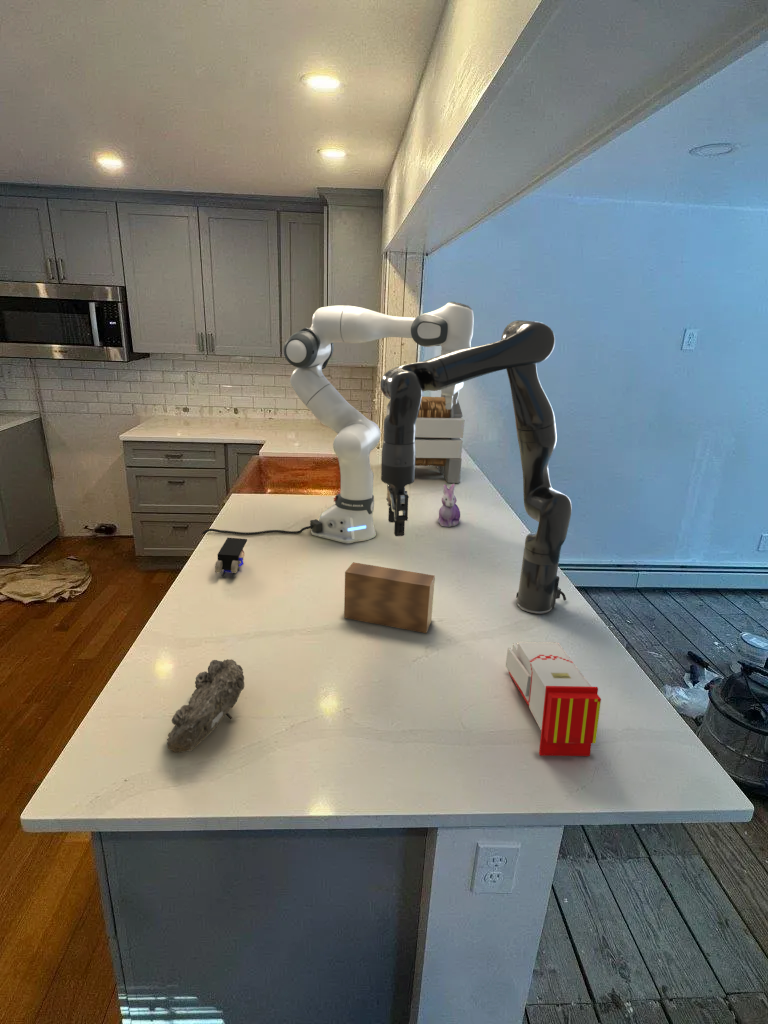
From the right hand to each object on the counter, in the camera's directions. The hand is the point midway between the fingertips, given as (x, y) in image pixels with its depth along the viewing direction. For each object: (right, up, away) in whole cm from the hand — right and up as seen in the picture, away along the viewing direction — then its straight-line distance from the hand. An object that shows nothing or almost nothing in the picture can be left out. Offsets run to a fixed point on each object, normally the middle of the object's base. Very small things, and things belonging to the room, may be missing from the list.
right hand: (396, 528), depth 132 cm
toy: (+29, -36, -17) cm, 49 cm away
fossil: (-36, -35, -24) cm, 55 cm away
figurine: (+21, 0, +80) cm, 83 cm away
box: (-2, -24, +13) cm, 27 cm away
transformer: (+14, +23, +143) cm, 146 cm away
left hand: (+18, +36, +42) cm, 58 cm away
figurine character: (-48, -13, +36) cm, 61 cm away
